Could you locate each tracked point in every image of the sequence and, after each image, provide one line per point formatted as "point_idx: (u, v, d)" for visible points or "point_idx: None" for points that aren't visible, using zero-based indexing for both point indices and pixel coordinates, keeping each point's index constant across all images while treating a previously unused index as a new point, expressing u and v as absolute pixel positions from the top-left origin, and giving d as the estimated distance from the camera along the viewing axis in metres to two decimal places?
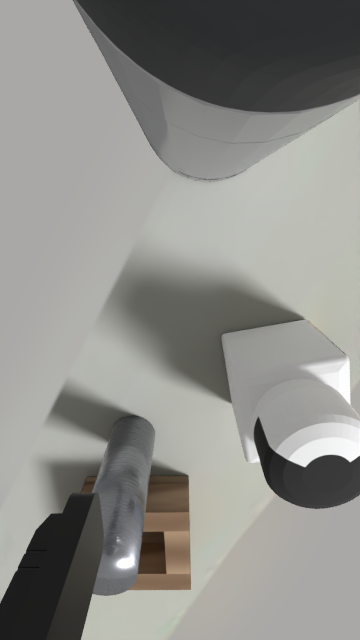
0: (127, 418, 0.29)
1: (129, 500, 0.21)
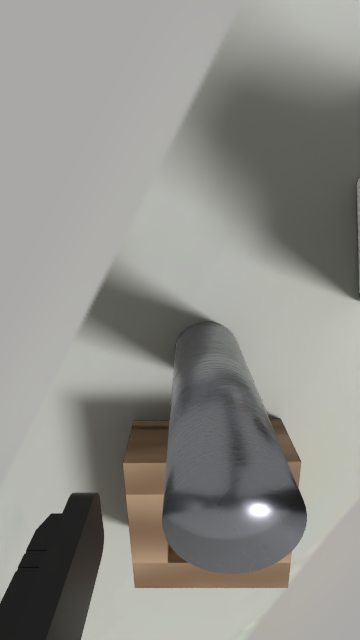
0: (201, 324, 0.19)
1: (253, 404, 0.12)
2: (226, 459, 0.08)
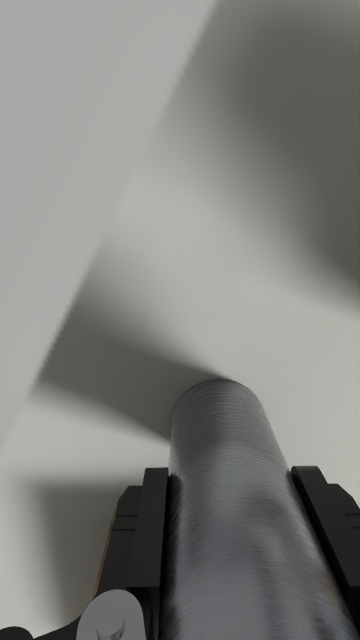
0: (210, 384, 0.13)
1: None
2: None
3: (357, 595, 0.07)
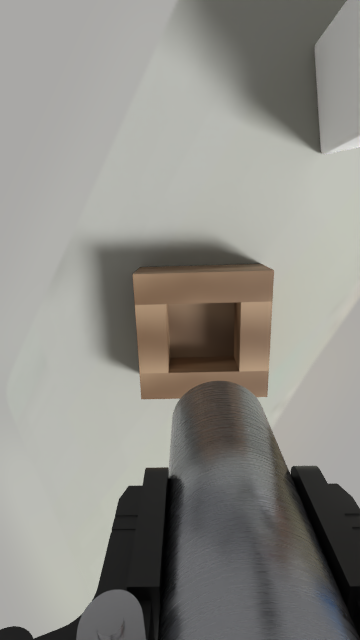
0: (210, 385, 0.13)
1: None
2: None
3: (357, 595, 0.07)
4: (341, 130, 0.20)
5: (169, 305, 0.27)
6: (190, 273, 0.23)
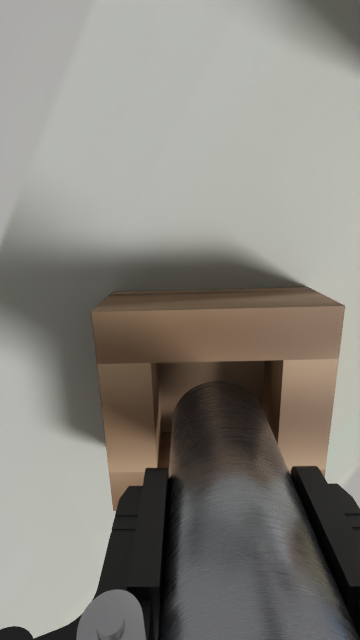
0: (210, 385, 0.13)
1: None
2: None
3: (357, 595, 0.07)
4: None
5: None
6: (194, 310, 0.13)
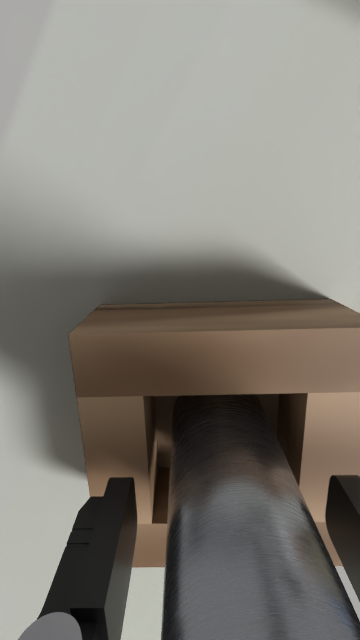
0: None
1: (335, 610, 0.06)
2: None
3: None
4: None
5: None
6: (197, 332, 0.10)
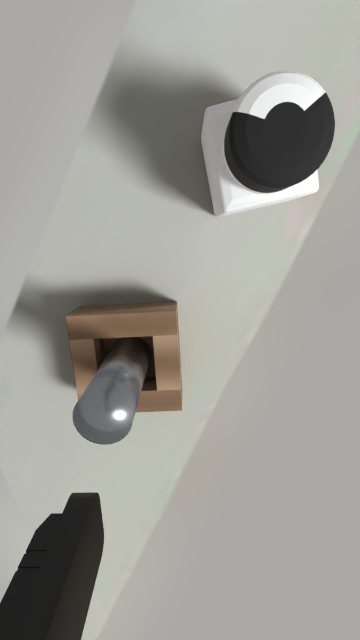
0: None
1: (125, 374, 0.24)
2: (96, 390, 0.21)
3: None
4: (216, 205, 0.27)
5: None
6: (110, 314, 0.29)
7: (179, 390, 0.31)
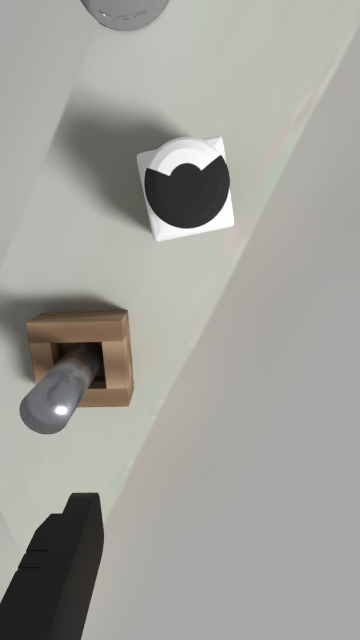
0: None
1: (69, 375, 0.29)
2: (38, 390, 0.26)
3: None
4: None
5: None
6: (65, 322, 0.33)
7: (126, 389, 0.35)
